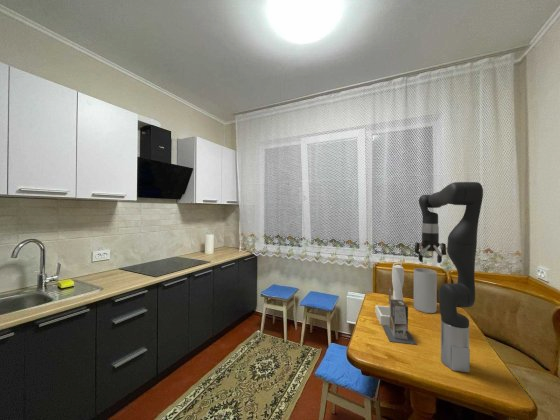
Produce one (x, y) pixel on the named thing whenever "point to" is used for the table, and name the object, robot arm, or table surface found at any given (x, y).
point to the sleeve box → (383, 314)
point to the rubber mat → (397, 340)
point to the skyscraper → (397, 282)
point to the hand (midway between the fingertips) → (430, 262)
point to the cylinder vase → (425, 290)
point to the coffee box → (399, 319)
